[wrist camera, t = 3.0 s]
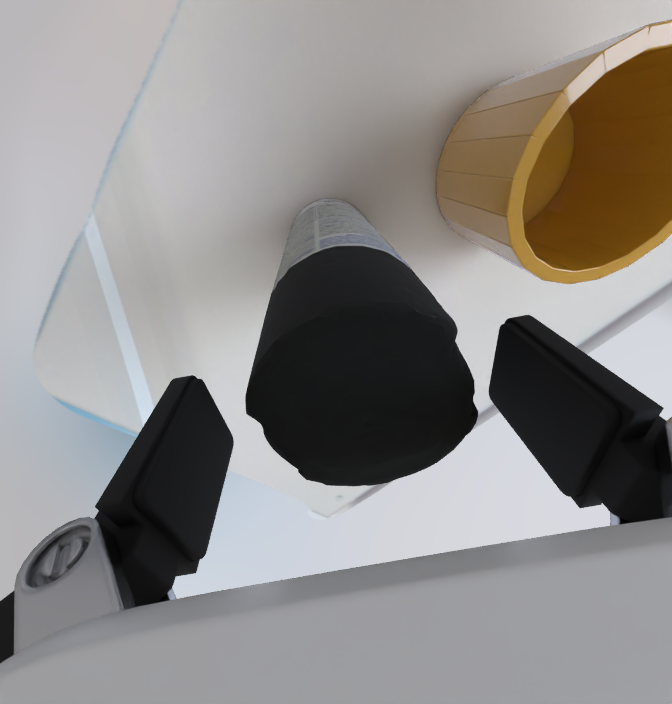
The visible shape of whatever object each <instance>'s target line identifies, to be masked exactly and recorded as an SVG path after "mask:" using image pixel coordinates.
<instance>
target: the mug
mask: <svg viewBox="0 0 672 704" xmlns="http://www.w3.org/2000/svg"><path fill="white" fill-rule="evenodd" d="M436 194H437V200H438V205H439V208H440V211H441V213H442V216H443V218H444V219H445V221H446V223H447V224H448V225H449V226H450V227H451V229H452V230H453V231H455V232H456V233H457V234H458V235H460V236H462V237H464V238H465V239H467V240H469V241H470V242H472V243H474V244H476V245H478V246H480V247H482V248H483V249H485V250H487V251H489V252H491V253H493V254H495V255H497V256H498V257H500V258H502V259H504V260H506V261H508V262H510V263H512V264H513V265H515V266H517V267H519V268H521V269H523V270H525V271H527V272H528V273H530V274H532V275H534V276H536V277H538V278H540V279H542V280H544V281H550V282H557V283H564V284H573V283H579V282H585V281H590V280H596V279H600V278H602V277H604V276H607V275H609V274H611V273H614V272H616V271H618V270H621V269H623V268H625V267H627V266H629V265H631V264H632V263H634V262H635V261H637V260H638V259H640V258H641V257H643V256H644V255H645V254H647V253H648V252H650V251H651V250H653V249H654V248H656V247H657V246H659V245H660V243H663V242H664V241H665V240H666V239H667V238H668V237H669V236H670V235H671V234H672V20H667V21H662V22H657V23H652V24H649V25H646V26H643V27H640V28H638V29H635V30H633V31H630V32H627V33H625V34H622V35H620V36H617V37H614V38H612V39H609V40H607V41H604V42H602V43H599V44H596V45H594V46H591V47H589V48H586V49H583V50H581V51H578V52H576V53H573V54H570V55H568V56H565V57H563V58H560V59H557V60H555V61H552V62H550V63H547V64H545V65H542V66H539V67H537V68H534V69H532V70H529V71H526V72H524V73H521V74H519V75H516V76H513V77H511V78H509V79H508V80H506V81H504V82H502V83H499V84H497V85H496V86H494V87H492V88H491V89H489V90H487V91H486V92H485V93H484V94H482V95H481V96H480V97H479V98H477V99H476V100H475V101H474V102H473V103H472V104H471V105H470V106H469V107H468V108H467V110H466V111H465V112H464V113H463V114H462V116H461V117H460V118H459V120H458V121H457V123H456V124H455V126H454V127H453V129H452V131H451V133H450V135H449V136H448V138H447V141H446V143H445V145H444V148H443V150H442V154H441V157H440V160H439V165H438V170H437V178H436Z"/></svg>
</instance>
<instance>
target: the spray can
mask: <svg viewBox="0 0 672 704" xmlns="http://www.w3.org/2000/svg"><path fill="white" fill-rule="evenodd" d="M456 335H457V327H456V324H455V322H454V321H453V319H452V318H451V317H450V316H449V315H448V314H447V313H446V312H445V311H444V309H443V308H442V306H441V305H440V304H439V303H438V302H437V300H436V299H435V297H434V296H433V295H432V293H431V292H430V291H429V290H428V288H427V287H426V286H425V285H424V284H423V283H422V282H421V280H420V279H419V278H418V277H417V276H416V274H415V273H414V272H413V271H412V269H411V268H410V267H409V265H408V264H407V263H406V262H405V261H404V260H403V259H402V258H401V257H400V256H399V255H398V254H397V253H396V251H395V250H394V249H393V248H392V247H391V246H390V245H389V244H388V243H387V242H386V241H385V239H384V238H383V237H382V236H381V235H380V234H379V233H378V232H377V231H376V229H375V228H374V227H373V226H372V225H371V224H370V223H369V222H368V220H367V219H366V218H365V217H364V216H363V215H362V214H361V213H360V212H359V210H357V209H356V208H355V207H354V206H352V205H351V204H349V203H347V202H345V201H343V200H339V199H332V198H328V199H321V200H317V201H315V202H313V203H311V204H309V205H308V206H306V207H305V208H304V209H303V210H302V211H301V212H300V213H299V214H298V215H297V217H296V218H295V220H294V222H293V224H292V226H291V229H290V233H289V236H288V239H287V243H286V246H285V250H284V253H283V256H282V260H281V264H280V267H279V270H278V274H277V277H276V280H275V284H274V287H273V291H272V293H271V297H270V301H269V305H268V308H267V312H266V316H265V319H264V324H263V328H262V332H261V336H260V340H259V344H258V347H257V351H256V355H255V359H254V363H253V367H252V371H251V375H250V379H249V383H248V387H247V392H246V400H245V401H246V414H248V415H249V416H251V417H252V418H254V419H255V420H257V421H258V422H259V423H260V424H261V425H262V427H263V430H264V435H265V437H266V439H267V441H268V443H269V444H270V446H271V447H272V448H273V449H274V450H275V451H276V452H277V453H278V454H279V455H280V456H281V457H282V458H284V459H285V460H286V461H288V462H289V463H290V464H291V465H293V466H294V467H296V468H297V469H298V472H299V473H300V474H301V475H302V476H303V477H304V478H305V479H306V480H310V481H315V482H320V483H323V484H325V485H333V486H362V485H368V486H370V485H377V484H383V483H388V482H390V481H393V480H395V479H398V478H401V477H404V476H408V475H411V474H413V473H416V472H418V471H421V470H423V469H425V468H428V467H430V466H431V465H433V464H435V463H437V462H438V461H440V460H441V459H442V458H444V457H445V456H446V455H447V454H449V453H450V452H451V451H452V450H454V449H455V448H456V446H457V445H458V444H459V443H460V442H461V441H462V440H463V439H464V437H465V436H466V435H467V434H468V433H470V432H471V430H472V428H473V427H474V425H475V423H476V421H477V417H478V410H477V409H476V407H475V405H474V402H473V395H474V393H475V390H474V379H473V377H472V374H471V372H470V369H469V367H468V365H467V363H466V361H465V359H464V358H463V356H462V354H461V352H460V351H459V348H458V346H457V344H456V342H455V339H456Z"/></svg>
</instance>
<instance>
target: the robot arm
mask: <svg viewBox="0 0 672 704" xmlns="http://www.w3.org/2000/svg"><path fill="white" fill-rule="evenodd" d="M489 396H490V399H491V400H492V402H493V403H494V405H495V406H496V407H497V408H498V410H499V411H500V412H501V414H502V415H503V416H504V418H505V419H506V420H507V422H508V423H509V424H510V425H511V427H512V428H513V429H514V431H515V432H516V433H517V435H518V436H519V437H520V438H521V440H522V441H523V442H524V444H525V445H526V446H527V448H528V449H529V450H530V452H531V453H532V454H533V455H534V457H535V458H536V459H537V461H538V462H539V463H540V465H541V466H542V467H543V468H544V470H545V471H546V472H547V474H548V475H549V476H550V478H551V479H552V480H553V481H554V483H555V484H556V485H557V487H558V488H559V489H560V490H561V491H562V492H563V494H565V495H566V496H571V498H572V499H573V500H574V501H575V502H576V504H577V505H578V506H579V508H584V507H589V506H596V505H601V503H603V504H604V505H605V506H606V507H607V508H608V510H609V511H610V526H606V527H599V528H593V529H588V530H580V531H574V532H568V533H562V534H557V535H550V536H543V537H537V538H531V539H525V540H519V541H513V542H507V543H501V544H494V545H488V546H482V547H476V548H470V549H464V550H458V551H452V552H446V553H440V554H434V555H428V556H422V557H416V558H410V559H404V560H398V561H392V562H386V563H380V564H374V565H368V566H362V567H356V568H350V569H345V570H338V571H332V572H327V573H321V574H315V575H309V576H303V577H298V578H292V579H287V580H280V581H274V582H269V583H263V584H257V585H251V586H246V587H240V588H234V589H228V590H222V591H217V592H211V593H206V594H201V595H196V596H190V597H186V598H180V599H176V597H175V594H174V592H173V589H172V586H173V583H174V580H175V577H176V576H181V575H187V574H193V573H196V571H197V567H198V563H199V560H200V559H202V558H203V557H204V556H205V554H206V551H207V547H208V544H209V540H210V536H211V532H212V528H213V524H214V520H215V516H216V512H217V508H218V504H219V500H220V496H221V492H222V488H223V484H224V481H225V477H226V472H227V469H228V465H229V461H230V457H231V453H232V449H233V436H232V434H231V432H230V430H229V428H228V427H227V425H226V423H225V421H224V419H223V417H222V415H221V413H220V412H219V410H218V408H217V406H216V404H215V402H214V400H213V398H212V396H211V395H210V393H209V391H208V389H207V387H206V385H205V383H204V382H203V380H202V379H197V378H196V377H195V376H193V375H191V376H186V377H180V378H175V379H173V380H172V381H171V382H170V384H169V386H168V387H167V389H166V391H165V392H164V394H163V395H162V397H161V399H160V400H159V402H158V404H157V405H156V407H155V409H154V410H153V412H152V414H151V415H150V417H149V419H148V420H147V422H146V423H145V425H144V427H143V428H142V430H141V432H140V433H139V435H138V437H137V438H136V440H135V442H134V444H133V445H132V447H131V448H130V450H129V451H128V453H127V455H126V456H125V458H124V460H123V461H122V463H121V465H120V466H119V468H118V470H117V471H116V473H115V475H114V476H113V478H112V479H111V481H110V483H109V484H108V486H107V488H106V489H105V491H104V493H103V495H102V496H101V498H100V499H99V501H98V503H97V504H96V506H95V507H96V508H97V509H98V510H99V512H98V514H97V515H96V517H95V518H94V519H93V518H90V517H86V518H78V519H76V520H73V521H70V522H68V523H66V524H65V525H63V526H61V527H59V528H58V529H56V530H55V531H53V532H52V533H51V534H49V535H48V536H47V537H46V538H44V539H43V540H42V541H41V542H40V543H39V544H38V545H37V546H36V547H35V548H34V549H33V551H32V552H31V553H30V554H29V556H28V557H27V558H26V560H25V561H24V562H23V564H22V566H21V568H20V570H19V572H18V574H17V577H16V582H15V590H14V591H13V592H12V593H10V594H9V595H8V596H7V597H5V598H4V599H3V600H1V601H0V704H672V417H671V418H670V419H669V420H667V421H666V420H664V419H663V418H661V417H660V416H659V414H660V413H661V411H662V410H663V407H661V406H660V405H658V404H657V403H656V402H654V401H653V400H651V399H650V398H648V397H647V396H646V395H644V394H643V393H641V392H639V391H638V390H637V389H635V388H634V387H632V386H631V385H630V384H628V383H627V382H625V381H624V380H623V379H621V378H620V377H618V376H617V375H615V374H614V373H612V372H611V371H610V370H608V369H607V368H605V367H604V366H602V365H601V364H600V363H598V362H597V361H595V360H594V359H592V358H591V357H590V356H588V355H587V354H585V353H584V352H582V351H581V350H579V349H578V348H577V347H575V346H574V345H572V344H571V343H569V342H568V341H567V340H565V339H564V338H562V337H561V336H559V335H558V334H557V333H555V332H554V331H552V330H551V329H549V328H548V327H546V326H545V325H544V324H542V323H541V322H539V321H538V320H536V319H535V318H534V317H532V316H530V315H525V316H519V317H514V318H509V319H507V320H506V321H505V324H503V325H501V326H500V329H499V335H498V340H497V346H496V351H495V357H494V363H493V368H492V374H491V380H490V385H489Z"/></svg>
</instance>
